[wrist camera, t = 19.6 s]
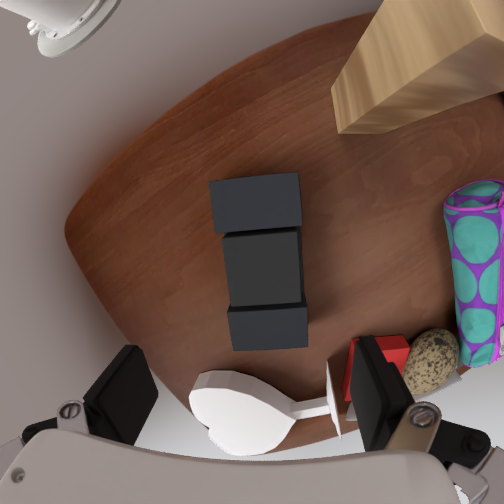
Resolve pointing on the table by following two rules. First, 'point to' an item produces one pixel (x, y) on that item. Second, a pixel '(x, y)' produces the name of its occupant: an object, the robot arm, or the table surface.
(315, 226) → the table surface
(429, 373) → the decorative egg
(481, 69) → the light wooden block
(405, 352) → the red rectangular block
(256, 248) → the middle pad
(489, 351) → the pencil case
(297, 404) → the heart sculpture
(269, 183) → the end pads
